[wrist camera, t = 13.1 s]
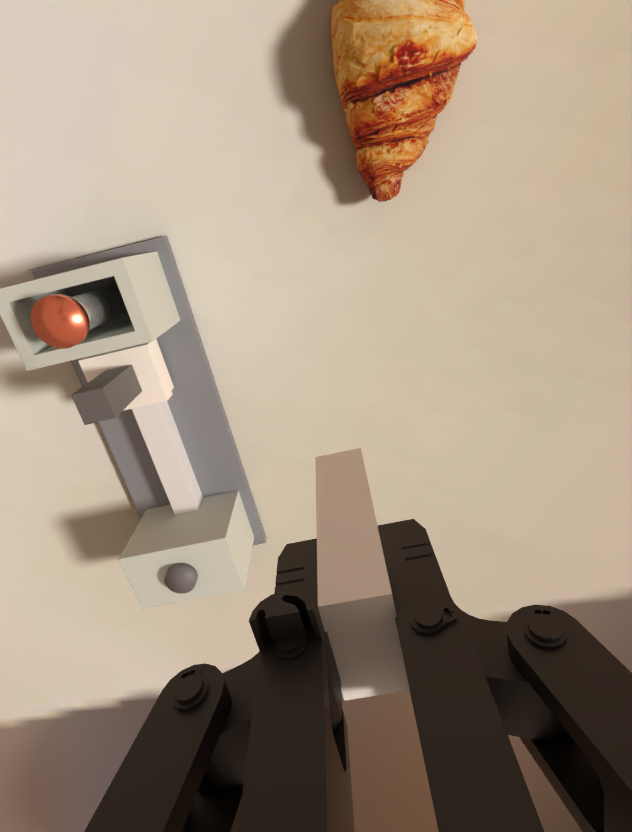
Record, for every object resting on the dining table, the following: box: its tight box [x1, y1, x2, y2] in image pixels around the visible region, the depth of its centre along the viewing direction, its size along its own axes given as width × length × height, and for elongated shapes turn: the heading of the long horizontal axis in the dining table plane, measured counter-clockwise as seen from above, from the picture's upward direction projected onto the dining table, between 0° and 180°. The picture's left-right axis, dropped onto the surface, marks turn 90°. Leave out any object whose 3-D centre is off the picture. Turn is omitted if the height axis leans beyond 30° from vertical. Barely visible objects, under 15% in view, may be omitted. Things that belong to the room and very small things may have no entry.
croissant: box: [331, 0, 477, 201], centre depth 33 cm, size 21×10×8 cm, turn 178°
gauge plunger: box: [30, 287, 124, 349], centre depth 36 cm, size 4×4×9 cm
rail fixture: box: [0, 236, 266, 610], centre depth 42 cm, size 32×12×10 cm, turn 13°
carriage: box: [71, 339, 174, 425], centre depth 39 cm, size 5×6×10 cm
